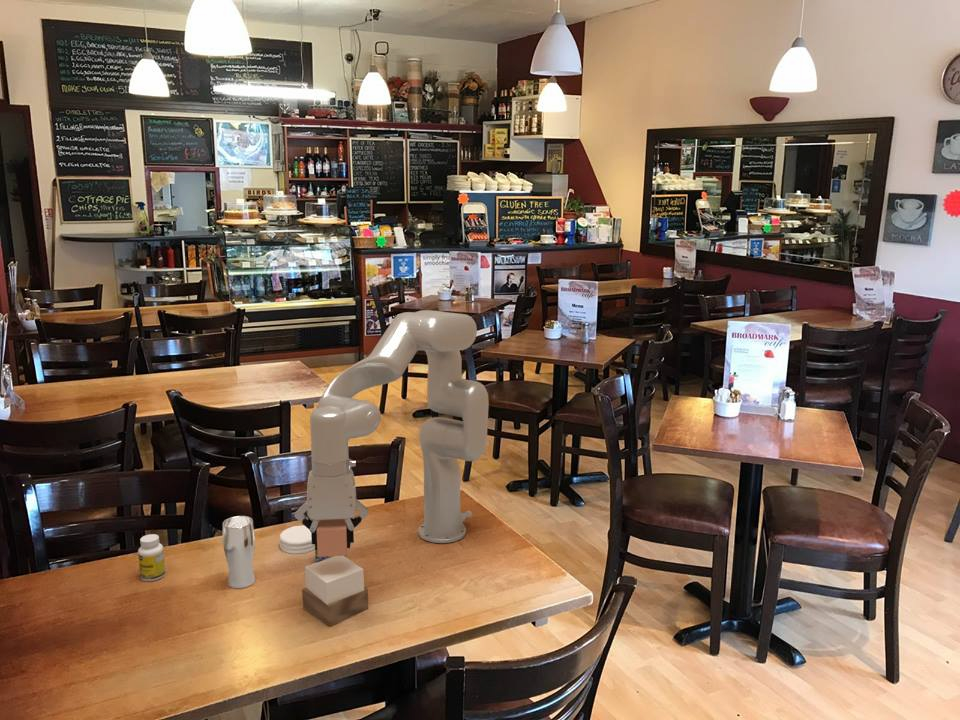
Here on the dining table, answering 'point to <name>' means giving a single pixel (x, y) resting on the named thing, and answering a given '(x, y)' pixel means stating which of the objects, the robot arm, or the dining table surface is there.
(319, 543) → the terracotta cube
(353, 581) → the tower top
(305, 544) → the coaster
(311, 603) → the tower bottom
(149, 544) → the supplement bottle
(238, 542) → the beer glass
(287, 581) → the dining table surface
